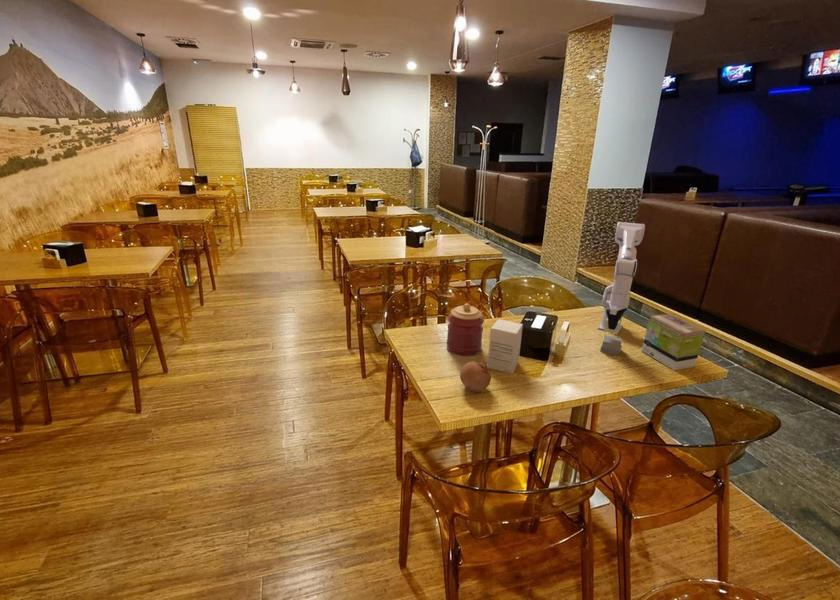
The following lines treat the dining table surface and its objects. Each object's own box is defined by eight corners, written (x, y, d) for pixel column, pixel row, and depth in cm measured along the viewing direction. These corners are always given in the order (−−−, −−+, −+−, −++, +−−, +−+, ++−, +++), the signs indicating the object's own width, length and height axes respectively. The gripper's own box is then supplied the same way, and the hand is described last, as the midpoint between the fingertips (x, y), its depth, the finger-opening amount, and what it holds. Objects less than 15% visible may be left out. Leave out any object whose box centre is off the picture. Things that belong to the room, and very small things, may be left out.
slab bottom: (603, 346, 162) (604, 340, 161) (620, 351, 159) (621, 345, 158) (599, 352, 158) (601, 346, 157) (616, 357, 154) (618, 351, 154)
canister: (473, 359, 148) (476, 313, 142) (440, 350, 154) (442, 305, 148) (486, 345, 159) (490, 301, 153) (455, 337, 165) (458, 294, 159)
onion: (485, 396, 133) (503, 373, 129) (468, 401, 126) (486, 376, 122) (466, 375, 138) (482, 352, 134) (448, 378, 131) (465, 354, 127)
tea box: (640, 351, 158) (648, 315, 153) (660, 348, 161) (670, 312, 156) (673, 371, 145) (684, 332, 140) (695, 367, 148) (707, 329, 143)
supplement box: (494, 356, 151) (497, 318, 146) (518, 362, 147) (523, 323, 142) (486, 367, 143) (490, 327, 138) (512, 374, 140) (517, 333, 134)
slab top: (603, 341, 161) (604, 335, 160) (620, 344, 158) (622, 338, 158) (601, 347, 156) (603, 341, 155) (619, 351, 154) (620, 345, 153)
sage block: (606, 327, 159) (608, 316, 157) (619, 330, 157) (621, 319, 155) (603, 331, 156) (605, 320, 154) (616, 334, 153) (619, 323, 152)
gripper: (613, 284, 158) (606, 318, 163) (603, 294, 147) (596, 330, 152) (633, 288, 155) (626, 322, 159) (625, 299, 143) (617, 335, 148)
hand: (613, 326), depth 155 cm, fingers closed on sage block, 4 cm apart
